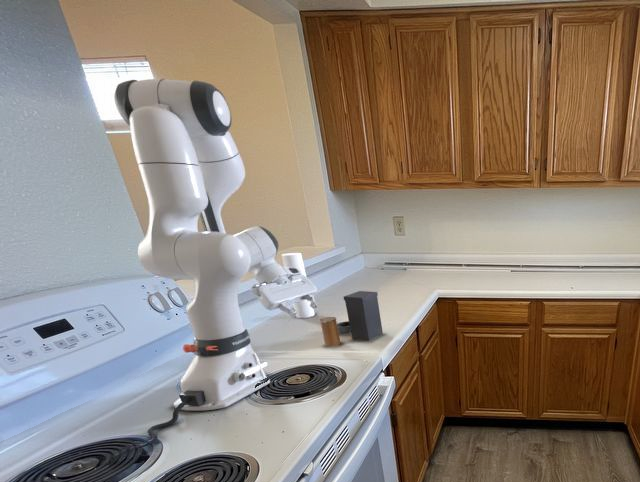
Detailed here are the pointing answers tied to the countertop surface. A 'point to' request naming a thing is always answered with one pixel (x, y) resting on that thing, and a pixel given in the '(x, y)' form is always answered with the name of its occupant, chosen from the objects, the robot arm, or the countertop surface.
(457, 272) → the countertop surface
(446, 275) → the countertop surface
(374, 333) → the dark grey tall block
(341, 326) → the brew holder
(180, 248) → the robot arm
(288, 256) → the cylindrical container
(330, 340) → the brown wooden cylinder
